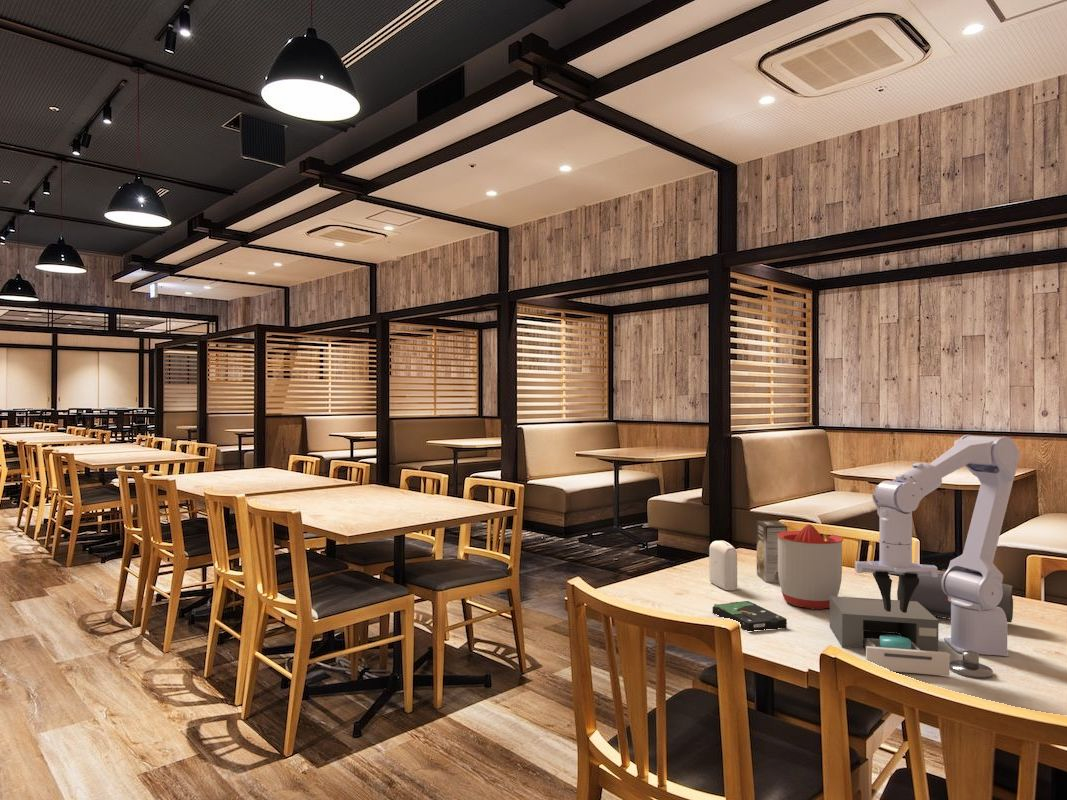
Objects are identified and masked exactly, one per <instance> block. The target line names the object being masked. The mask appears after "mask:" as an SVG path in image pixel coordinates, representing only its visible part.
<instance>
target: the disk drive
mask: <svg viewBox="0 0 1067 800" xmlns="http://www.w3.org/2000/svg"><path fill="white" fill-rule="evenodd" d="M713 613H714V614H713ZM712 614H713V615H715V614H717V615H719V616H717V615H716V616H717V617H719V618H720V617H724V618H730V619H733V620H736V621H738V622H740V624H741V628H742V629H741V628H740V629H741V630H742V631H744V630H747V631H754V630H764V629H765V630H766V629H776V630H779V629H778V628H785V629H787V628H788V627H787V624H788V623H787V620H788V619H787V618H786V617H784V616H781V615H779V614H777V613H775V612H773V611H771V610H768V609H766V608H764V607H762V606H760V605H759V604H757V603H754V602H752V601H749V600H744V601H732V602H728V603H720V604H719V603H718V604H717V603H716V604H715V603H714V604H713V606H712Z"/></svg>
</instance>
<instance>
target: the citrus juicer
mask: <svg viewBox="0 0 1067 800" xmlns="http://www.w3.org/2000/svg"><path fill="white" fill-rule="evenodd" d="M777 536H778V576H779V582H778V583H779V587H780V590H781V594H782V597H783V599H784V601H785V602H786V603H787V604H789V605H793V606H795V607H801V608H807V609H812V610H816V611H818V610H822V609H830V596H838V595H839V593H840V589H841V585H842V578H843V577H842V575H843V571H842V570H843V541H844V538H843V537H841V536H839V535H837V534H836V535H835V534H831V535H828V537H827V540H825V539H824V538H823V536H822V535H821V534H820V532H819V531H818V530H817V529H816V527H814V525H812V524H810V523H809V524H807V525H805V526H804V527H803V528H801V530H787V531H785V532H780V533H778V534H777ZM838 597H839V596H838Z"/></svg>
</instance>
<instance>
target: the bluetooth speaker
mask: <svg viewBox="0 0 1067 800" xmlns="http://www.w3.org/2000/svg"><path fill="white" fill-rule="evenodd" d="M943 575H944V573H937V577H931V576H919V575H918V578H919V584H918V585H917V587H916V588H915V590H914V592H913V594H912V596H911V598H910V601H917V602H918V603H920V604H921V605H922V606H923V607H924V608H925V609H926V610H928V611H929V612H930V613H931V614H932V615H933V616H934V617H936V616H939V617H938V618H941V617H946V618H945V619H947V618H951V602H950V601H948V596H947V595H946V594H945V593H944V592H943V590H942V585H941V582H942V577H943ZM897 582H898V583H897V590H896V598H897V599H896V600H900V582H899V580H898V581H897ZM1002 590H1003V595H1002V599H1001V601H1000V603H999V604H998V605H997V606H996V607H1000V608H1002V609H1003V611H1004V612H1005V615H1006V618H1007V623H1012V620H1013V619H1014V615H1013V614H1014V598H1013V590H1014V588H1013V585H1011V584H1006V583H1003V582H1002Z"/></svg>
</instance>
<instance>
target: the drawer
mask: <svg viewBox="0 0 1067 800" xmlns="http://www.w3.org/2000/svg"><path fill="white" fill-rule="evenodd" d="M863 647H865V661H866V660H868V661H870V662H873V663H875V664H877V665H879V666H882V667H884V668H887V669H889V670H892V671H891V672H898V673H908V674H909V673H911V674H921V675H932V676H944V677H950V669H949V662H950V653H949V652H947V651H946V652H945V651H938V652H936V651H923V650H920V649H919V648H918V647H917V646H916V645H915V644H914V643H913V642H912V641H911V650H910V649H897V648H884V647H880V638H874V637H866V638H864V637H863Z"/></svg>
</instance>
